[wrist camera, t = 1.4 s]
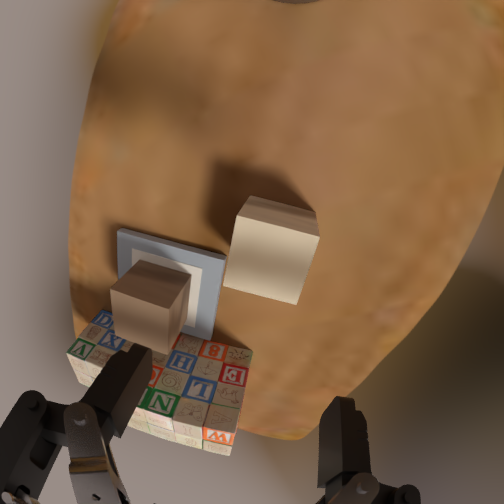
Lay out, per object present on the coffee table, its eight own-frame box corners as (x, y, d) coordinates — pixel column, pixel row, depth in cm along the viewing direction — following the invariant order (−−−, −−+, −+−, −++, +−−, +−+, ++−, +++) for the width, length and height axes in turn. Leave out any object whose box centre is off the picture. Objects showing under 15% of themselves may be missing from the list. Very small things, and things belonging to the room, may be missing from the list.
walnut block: (139, 259, 29) (109, 288, 23) (191, 274, 28) (168, 309, 23) (140, 303, 31) (115, 335, 26) (186, 318, 31) (167, 355, 26)
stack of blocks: (109, 340, 38) (67, 397, 27) (101, 307, 35) (51, 367, 24) (248, 379, 36) (230, 458, 25) (254, 349, 33) (235, 436, 22)
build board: (121, 227, 29) (116, 231, 28) (226, 255, 28) (224, 260, 27) (124, 306, 34) (120, 311, 33) (212, 335, 33) (209, 341, 32)
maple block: (250, 195, 25) (236, 215, 20) (315, 211, 25) (319, 237, 20) (237, 253, 28) (223, 285, 23) (297, 268, 28) (296, 304, 22)
